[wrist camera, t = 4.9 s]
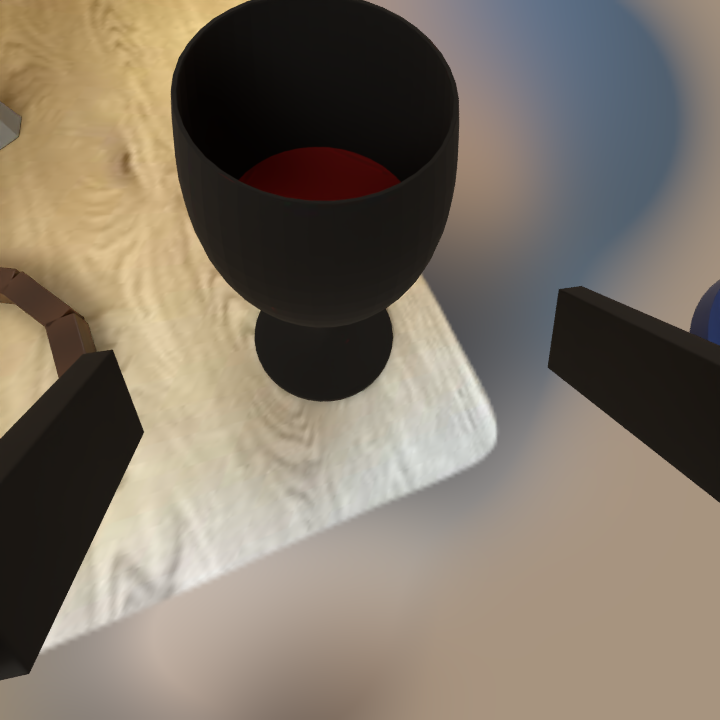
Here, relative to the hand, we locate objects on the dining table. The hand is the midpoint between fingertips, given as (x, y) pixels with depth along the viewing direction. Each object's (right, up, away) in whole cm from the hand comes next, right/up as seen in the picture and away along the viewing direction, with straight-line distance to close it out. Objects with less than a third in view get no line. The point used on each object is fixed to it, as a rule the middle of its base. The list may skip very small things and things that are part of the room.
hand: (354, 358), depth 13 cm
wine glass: (-3, +2, +19) cm, 19 cm away
